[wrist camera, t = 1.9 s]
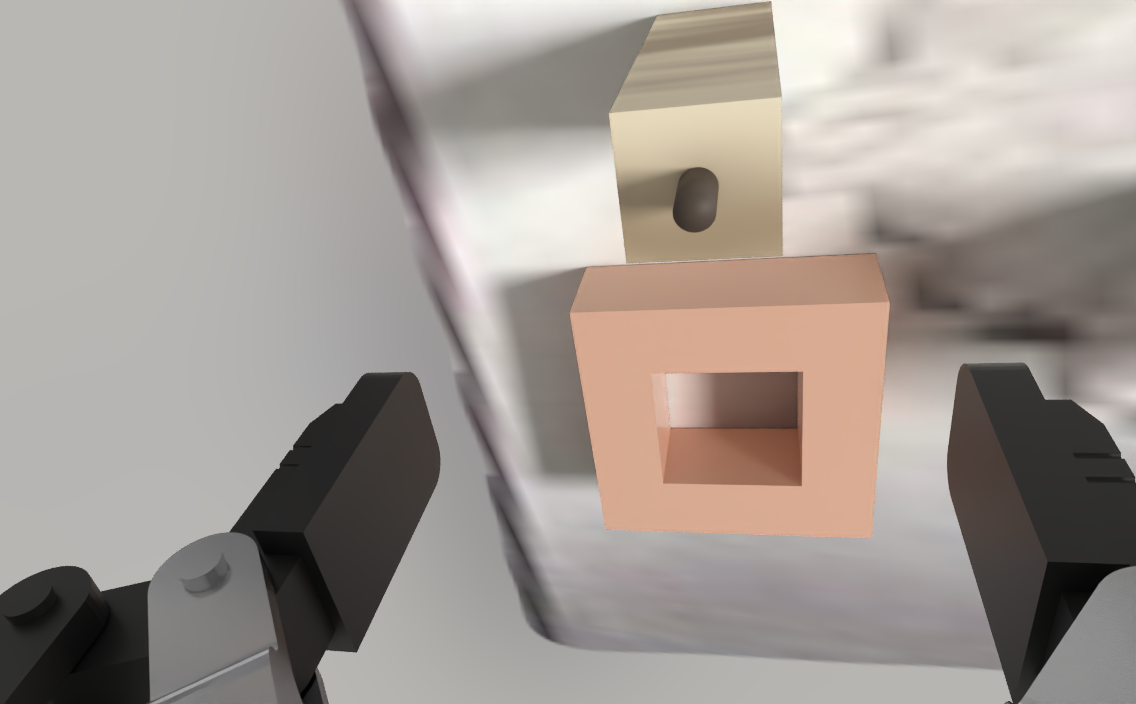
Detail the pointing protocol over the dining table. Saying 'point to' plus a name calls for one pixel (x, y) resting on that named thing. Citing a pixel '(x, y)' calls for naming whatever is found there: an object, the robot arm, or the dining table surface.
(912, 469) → the dining table surface
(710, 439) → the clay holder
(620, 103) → the birch peg
